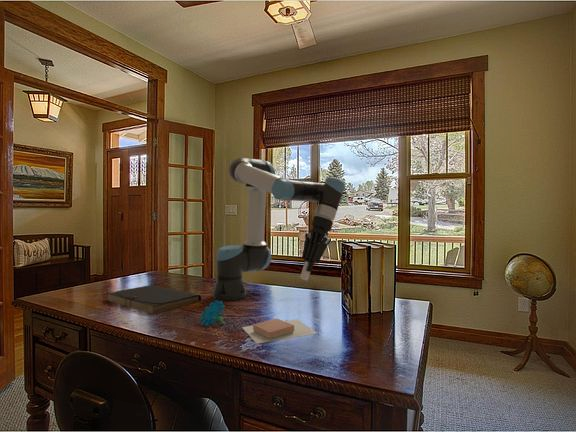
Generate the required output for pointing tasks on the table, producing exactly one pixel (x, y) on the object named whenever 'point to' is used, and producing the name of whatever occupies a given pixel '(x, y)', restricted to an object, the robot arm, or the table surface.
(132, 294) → the dark hardcover book
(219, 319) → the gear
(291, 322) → the felt mat
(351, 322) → the table surface
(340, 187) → the robot arm
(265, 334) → the tile
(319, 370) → the table surface
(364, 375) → the table surface
